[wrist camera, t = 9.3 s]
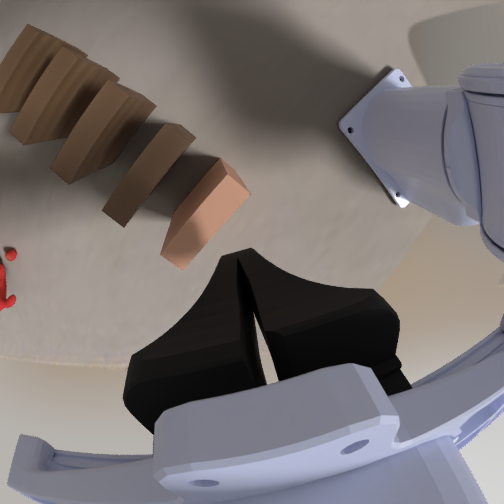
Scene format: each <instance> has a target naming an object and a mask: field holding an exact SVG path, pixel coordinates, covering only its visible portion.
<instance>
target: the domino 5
mask: <svg viewBox="0 0 504 504" xmlns="http://www.w3.org/2000/svg"><path fill="white" fill-rule="evenodd" d="M250 194H251V193H250V192H249V190H248V189H247V187H246V186H245V184H244V183H243V181H242V180H241V178H240V177H239V175H238V174H237V172H236V171H235V170H234V169H233V168H232V167H230V166H229V165H228V164H227V163H226V162H225V161H223V160H222V159H221V158H220V159H219V160H218V161H217V162H216V163H215V164H214V165H213V167H212V168H211V169H210V170H209V171H208V172H207V173H206V175H205V176H204V177H203V178H202V179H201V180H200V182H199V183H198V184H197V185H196V186H195V187H194V189H193V190H192V191H191V192H190V193H189V195H188V196H187V197H186V198H185V199H184V201H183V202H182V203H181V204H180V206H179V207H178V208H177V209H176V211H175V212H174V214H173V217H172V220H171V223H170V226H169V229H168V232H167V235H166V238H165V241H164V244H163V247H162V250H161V253H160V255H161V256H163V257H164V258H165V259H167V260H168V261H170V262H171V263H173V264H174V265H175V266H177V267H178V268H180V269H181V270H184V269H185V268H186V266H187V265H188V264H189V263H190V262H191V261H192V259H193V258H194V257H195V256H196V255H197V254H198V253H199V251H200V250H201V249H202V248H203V247H204V246H205V245H206V243H207V242H208V241H209V240H210V239H211V238H212V237H213V235H214V234H215V233H216V232H217V231H218V230H219V229H220V228H221V226H222V225H223V224H224V223H225V222H226V221H227V220H228V219H229V217H230V216H231V215H232V214H233V213H234V212H235V211H236V210H237V209H238V208H239V206H240V205H241V204H242V203H243V202H244V201H245V200H246V199H247V198H248V197H249V195H250Z"/></svg>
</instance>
